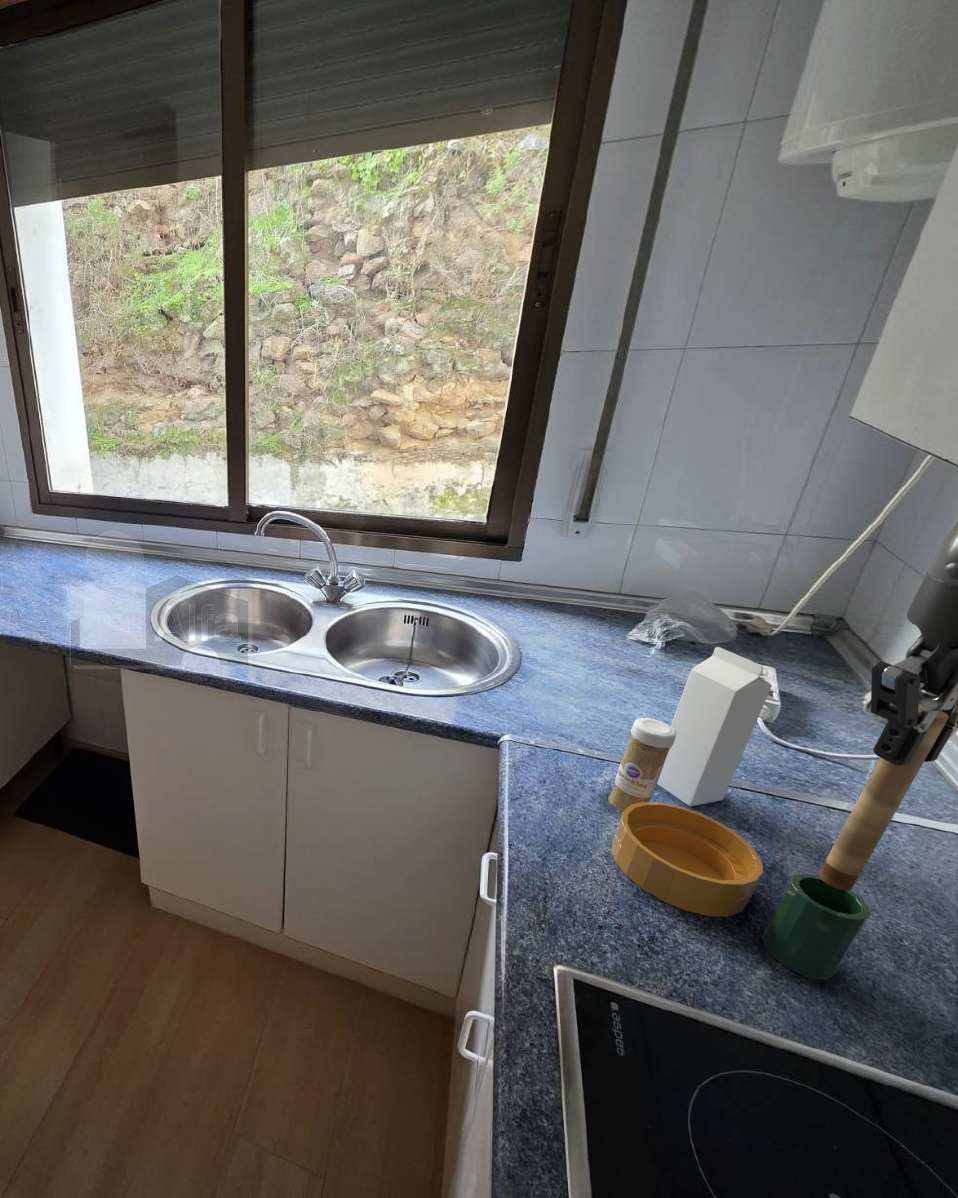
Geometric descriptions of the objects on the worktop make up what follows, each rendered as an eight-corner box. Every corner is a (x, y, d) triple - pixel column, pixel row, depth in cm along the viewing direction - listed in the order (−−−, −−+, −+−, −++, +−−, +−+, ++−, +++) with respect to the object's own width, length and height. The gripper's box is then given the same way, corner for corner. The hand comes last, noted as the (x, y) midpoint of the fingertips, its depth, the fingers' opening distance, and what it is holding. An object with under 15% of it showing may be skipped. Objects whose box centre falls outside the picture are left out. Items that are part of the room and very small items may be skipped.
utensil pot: (814, 943, 68) (849, 882, 65) (845, 990, 63) (884, 926, 60) (750, 928, 70) (780, 867, 66) (775, 972, 65) (809, 909, 62)
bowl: (718, 850, 81) (733, 816, 78) (768, 935, 69) (786, 898, 67) (598, 824, 85) (609, 792, 83) (627, 901, 74) (640, 865, 71)
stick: (843, 875, 63) (936, 706, 56) (857, 894, 61) (956, 720, 53) (812, 869, 64) (901, 701, 56) (826, 887, 62) (919, 715, 54)
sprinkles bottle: (603, 806, 88) (630, 725, 83) (612, 791, 91) (639, 712, 86) (642, 823, 85) (673, 740, 80) (650, 807, 88) (680, 726, 83)
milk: (682, 774, 94) (733, 643, 86) (724, 801, 89) (782, 663, 81) (649, 780, 93) (698, 647, 85) (689, 807, 88) (746, 669, 79)
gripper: (995, 604, 46) (890, 794, 52) (1140, 591, 48) (1021, 775, 54) (872, 569, 53) (793, 741, 59) (1003, 559, 55) (912, 726, 61)
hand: (903, 757), depth 57 cm, fingers closed on stick, 2 cm apart
